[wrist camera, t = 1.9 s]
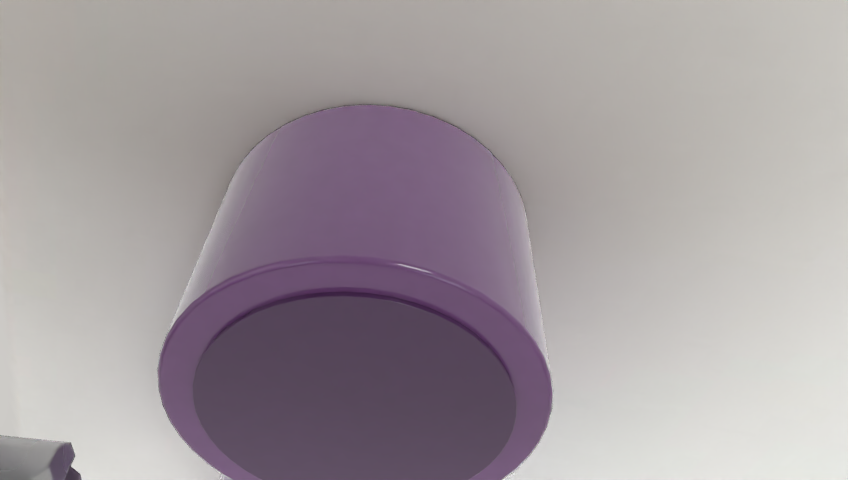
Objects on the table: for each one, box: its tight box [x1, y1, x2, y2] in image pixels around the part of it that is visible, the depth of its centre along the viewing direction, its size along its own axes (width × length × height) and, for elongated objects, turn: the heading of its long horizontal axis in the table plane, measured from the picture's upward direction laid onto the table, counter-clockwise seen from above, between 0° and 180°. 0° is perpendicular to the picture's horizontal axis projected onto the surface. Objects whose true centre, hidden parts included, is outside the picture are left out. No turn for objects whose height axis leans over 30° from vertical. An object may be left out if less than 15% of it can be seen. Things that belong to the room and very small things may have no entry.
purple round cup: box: [157, 105, 553, 480], centre depth 13 cm, size 6×6×5 cm
